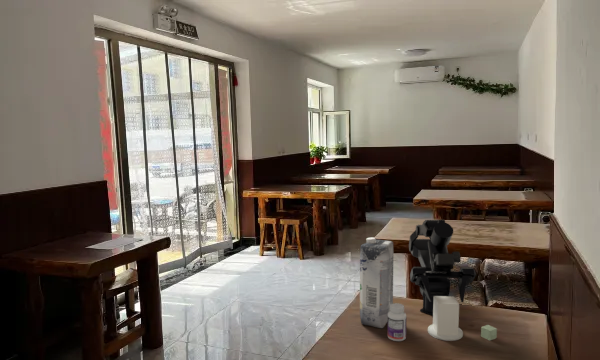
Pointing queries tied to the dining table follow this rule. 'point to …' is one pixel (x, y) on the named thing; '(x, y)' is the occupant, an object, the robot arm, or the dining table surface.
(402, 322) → the pill bottle
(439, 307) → the cover
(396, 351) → the dining table surface
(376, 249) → the juice carton
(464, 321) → the dining table surface
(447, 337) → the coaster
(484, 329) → the block
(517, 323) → the dining table surface
